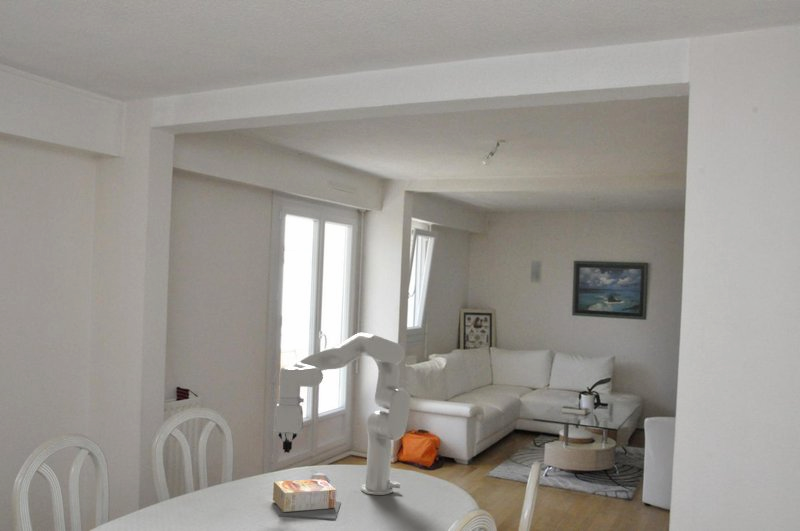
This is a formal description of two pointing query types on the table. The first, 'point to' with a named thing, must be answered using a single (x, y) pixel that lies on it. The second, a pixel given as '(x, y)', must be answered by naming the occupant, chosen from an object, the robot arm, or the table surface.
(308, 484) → the coffeecake box
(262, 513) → the table surface
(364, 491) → the robot arm
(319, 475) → the die
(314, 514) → the mat
